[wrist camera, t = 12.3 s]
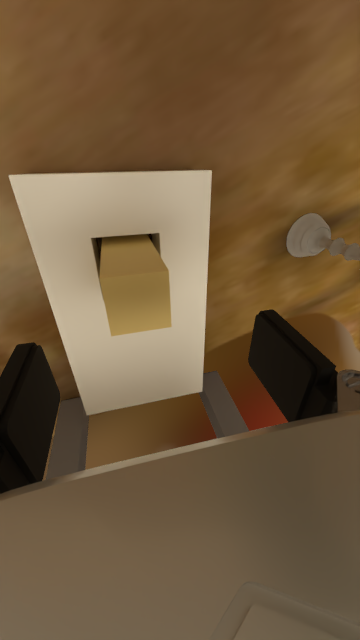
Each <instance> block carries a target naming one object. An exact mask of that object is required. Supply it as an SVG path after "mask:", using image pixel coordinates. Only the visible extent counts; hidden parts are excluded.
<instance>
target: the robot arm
mask: <svg viewBox="0 0 360 640" xmlns="http://www.w3.org/2000/svg"><path fill="white" fill-rule="evenodd" d="M248 360H249V365H250V366H251V368H252V369H253V371H254V372H255V374H256V375H257V377H258V378H259V380H260V381H261V383H262V384H263V385H264V387H265V388H266V390H267V391H268V393H269V394H270V396H271V397H272V399H273V400H274V402H275V403H276V404H277V406H278V407H279V409H280V410H281V412H282V413H283V415H284V416H285V417H286V419H287V421H288V423H284V424H279V425H275V426H271V427H266V428H262V429H257V430H253V431H249V432H244V433H240V434H235V435H231V436H227V437H222V438H218V439H214V440H210V441H206V442H201V443H197V444H193V445H188V446H184V447H180V448H175V449H171V450H167V451H163V452H159V453H154V454H150V455H146V456H142V457H138V458H133V459H129V460H125V461H121V462H116V463H112V464H108V465H104V466H100V467H96V468H92V469H87V470H83V471H79V472H75V473H71V474H67V475H64V476H60V477H56V478H52V479H48V480H44V481H42V479H43V475H44V471H45V466H46V462H47V457H48V453H49V448H50V443H51V439H52V434H53V430H54V425H55V420H56V416H57V411H58V406H59V402H60V393H59V390H58V387H57V385H56V382H55V379H54V377H53V374H52V372H51V369H50V367H49V364H48V362H47V359H46V357H45V354H44V352H43V349H42V347H41V346H40V345H38V346H37V345H36V344H35V343H26V344H19V345H17V346H16V347H15V349H14V351H13V353H12V355H11V357H10V359H9V361H8V363H7V365H6V367H5V369H4V370H3V372H2V374H1V376H0V640H360V371H356V370H342V371H340V372H339V373H338V372H337V371H336V370H335V367H336V366H335V365H334V364H333V363H332V362H331V361H330V360H329V359H327V358H326V357H325V356H324V355H323V354H322V353H321V352H320V351H319V350H318V349H317V348H315V347H314V346H313V345H312V344H311V343H310V342H309V341H308V340H307V339H305V338H304V337H303V336H302V335H301V334H300V333H299V332H298V331H297V330H295V329H294V328H293V327H292V326H291V325H290V324H289V323H288V322H287V321H285V320H284V319H283V318H282V317H281V316H280V315H279V314H278V313H277V312H276V311H274V310H265V311H260V312H259V314H258V315H256V318H255V323H254V329H253V335H252V341H251V346H250V352H249V358H248Z"/></svg>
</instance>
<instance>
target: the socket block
mask: <svg viewBox="0 0 360 640" xmlns="http://www.w3.org/2000/svg"><path fill="white" fill-rule="evenodd" d="M8 176H9V179H10V182H11V185H12V188H13V191H14V195H15V198H16V201H17V204H18V207H19V210H20V213H21V216H22V219H23V222H24V225H25V228H26V231H27V234H28V237H29V240H30V243H31V246H32V250H33V253H34V256H35V259H36V262H37V265H38V268H39V271H40V274H41V277H42V280H43V283H44V286H45V289H46V292H47V295H48V298H49V302H50V305H51V308H52V311H53V314H54V317H55V320H56V323H57V326H58V329H59V332H60V335H61V338H62V341H63V344H64V347H65V350H66V353H67V357H68V360H69V363H70V366H71V369H72V372H73V375H74V378H75V381H76V384H77V387H78V390H79V393H80V396H81V399H82V402H83V405H84V408H85V412H86V415H92V414H97V413H101V412H106V411H111V410H116V409H120V408H125V407H130V406H135V405H140V404H145V403H149V402H154V401H159V400H164V399H169V398H173V397H178V396H183V395H188V394H192V393H197V392H202V387H203V363H204V362H203V361H204V341H205V318H206V294H207V271H208V248H209V225H210V202H211V179H212V170H165V171H121V172H77V173H33V174H16V175H8ZM137 234H152V243H153V245H154V247H155V248H156V250H157V252H158V253H159V255H160V257H161V258H162V260H163V262H164V263H165V265H166V267H167V268H168V270H169V282H170V303H171V324H172V327H169V328H162V329H156V330H149V331H143V332H136V333H130V334H123V335H117V336H111V333H110V328H109V323H108V318H107V313H106V308H105V304H104V299H103V294H102V289H101V284H100V279H99V276H100V257H99V252H98V247H97V241H96V237H110V236H123V235H137Z"/></svg>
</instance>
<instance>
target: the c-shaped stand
mask: <svg viewBox="0 0 360 640" xmlns="http://www.w3.org/2000/svg"><path fill="white" fill-rule="evenodd" d="M199 394H200V397H201V399H202V402H203V404H204V407H205V409H206V411H207V414H208V416H209V419H210V421H211V424H212V426H213V428H214V431H215V433H216V436H217V438H222V437H227V436H231V435H235V434H240V433H244V432H249V430H248V428H247V426H246V424H245V422H244V421H243V419H242V417H241V415H240V413H239V411H238V409H237V407H236V406H235V404H234V402H233V400H232V398H231V397H230V395H229V393H228V391H227V389H226V387H225V385H224V384H223V382H222V380H221V378H220V376H219V374H218V372H217V371H213V372H208V373H203V387H202V392H199ZM88 421H89V415H86V412H85V408H84V405H83V402H82V399H81V397H79V398H74V399H68V400H63V401H61V404H60V409H59V414H58V419H57V424H56V430H55V435H54V440H53V445H52V450H51V456H50V460H49V465H48V470H47V476H46V480H48V479H52V478H56V477H60V476H64V475H67V474H71V473H75V472H79V471H83V470H85V463H86V449H87V436H88Z"/></svg>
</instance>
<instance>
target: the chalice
mask: <svg viewBox="0 0 360 640" xmlns="http://www.w3.org/2000/svg"><path fill="white" fill-rule="evenodd" d="M286 246H287V249H288V251H289V253H290V254H291V255H293V256H295V257H304V256H306V257H307V256H314V255H317V254H318V253H320V252H322V251H323V250H324V249H325V248H327V249H328V250H329V252H330V254H331V255H332V256H335V255H338V254H342V255H343V256H344V257H345V259H346V260H352V259H353V260H360V247H359V245H358V244H357V243H354V244H351V245H346V244H345V242H344V239H342V238H337V239H336V240H331V231H330V227H329V226H328V224H326V222H325V221H324V220H323V219H322V217H321V216H319V215H318V214H315V213H309V214H306V215H303V216H302V217H300V218H299V219H298V220H297V221H296V222H295V223H294V224H293V225H292V227H291V229H290V230H289V232H288V236H287V243H286Z"/></svg>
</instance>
